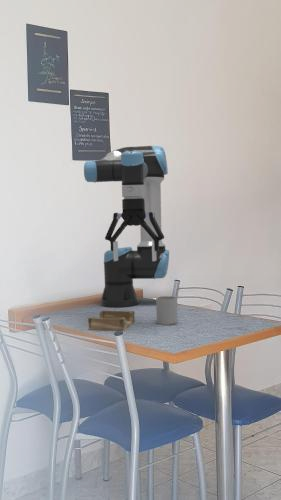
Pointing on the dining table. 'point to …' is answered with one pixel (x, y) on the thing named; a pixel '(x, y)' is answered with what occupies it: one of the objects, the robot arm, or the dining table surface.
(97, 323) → the caddy
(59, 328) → the dining table surface
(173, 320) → the cup
